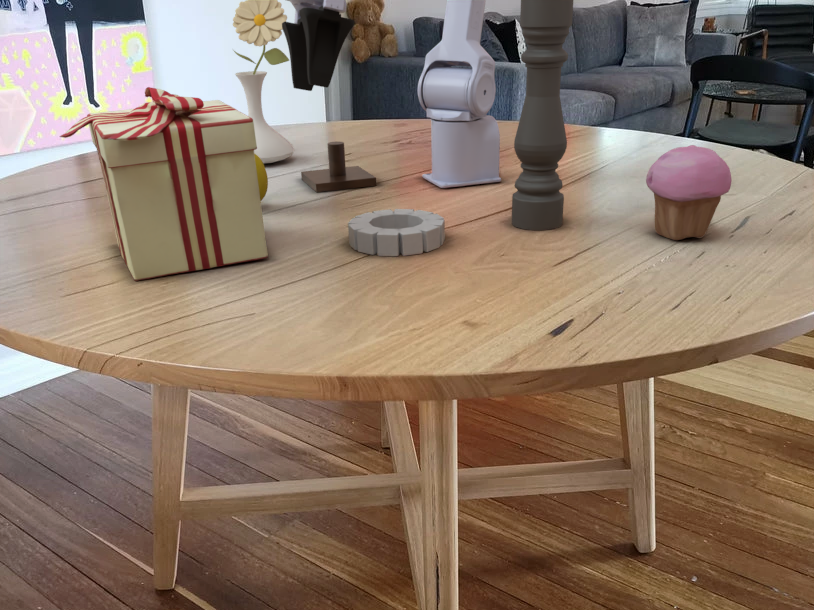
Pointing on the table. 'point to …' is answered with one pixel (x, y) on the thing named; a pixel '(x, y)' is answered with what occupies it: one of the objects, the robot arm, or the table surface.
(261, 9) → the flower in vase
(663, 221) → the cupcake
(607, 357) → the table surface
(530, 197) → the candle holder
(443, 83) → the robot arm
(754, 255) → the table surface
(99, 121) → the gift box
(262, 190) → the lemon
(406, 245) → the grey notched ring
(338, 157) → the brown peg stand
